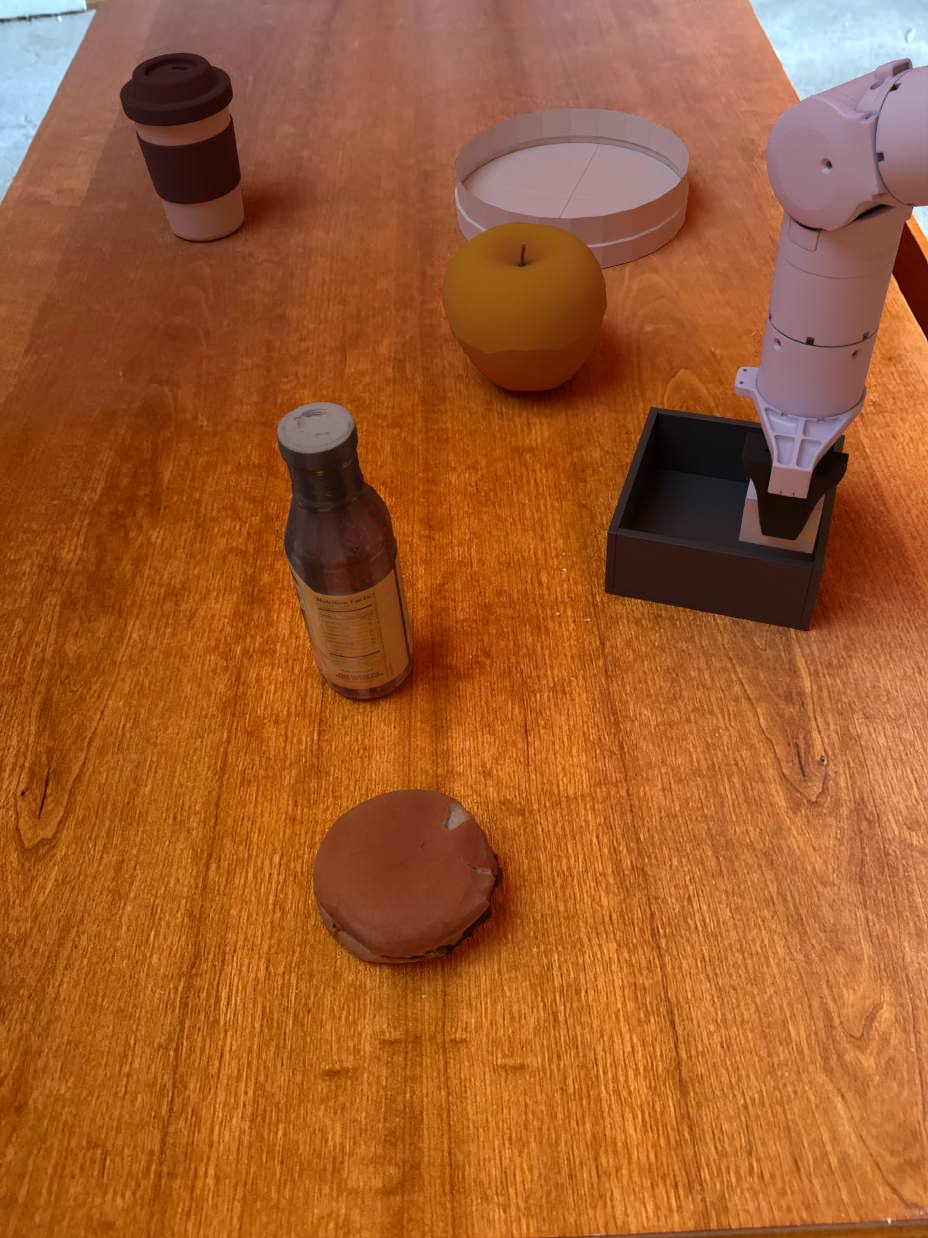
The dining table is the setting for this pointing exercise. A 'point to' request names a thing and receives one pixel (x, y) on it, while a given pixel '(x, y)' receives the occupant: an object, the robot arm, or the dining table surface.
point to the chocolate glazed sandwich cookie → (405, 877)
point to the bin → (705, 527)
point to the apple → (525, 304)
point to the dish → (577, 179)
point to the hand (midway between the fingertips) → (784, 508)
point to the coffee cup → (188, 142)
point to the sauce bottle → (343, 556)
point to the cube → (754, 535)
